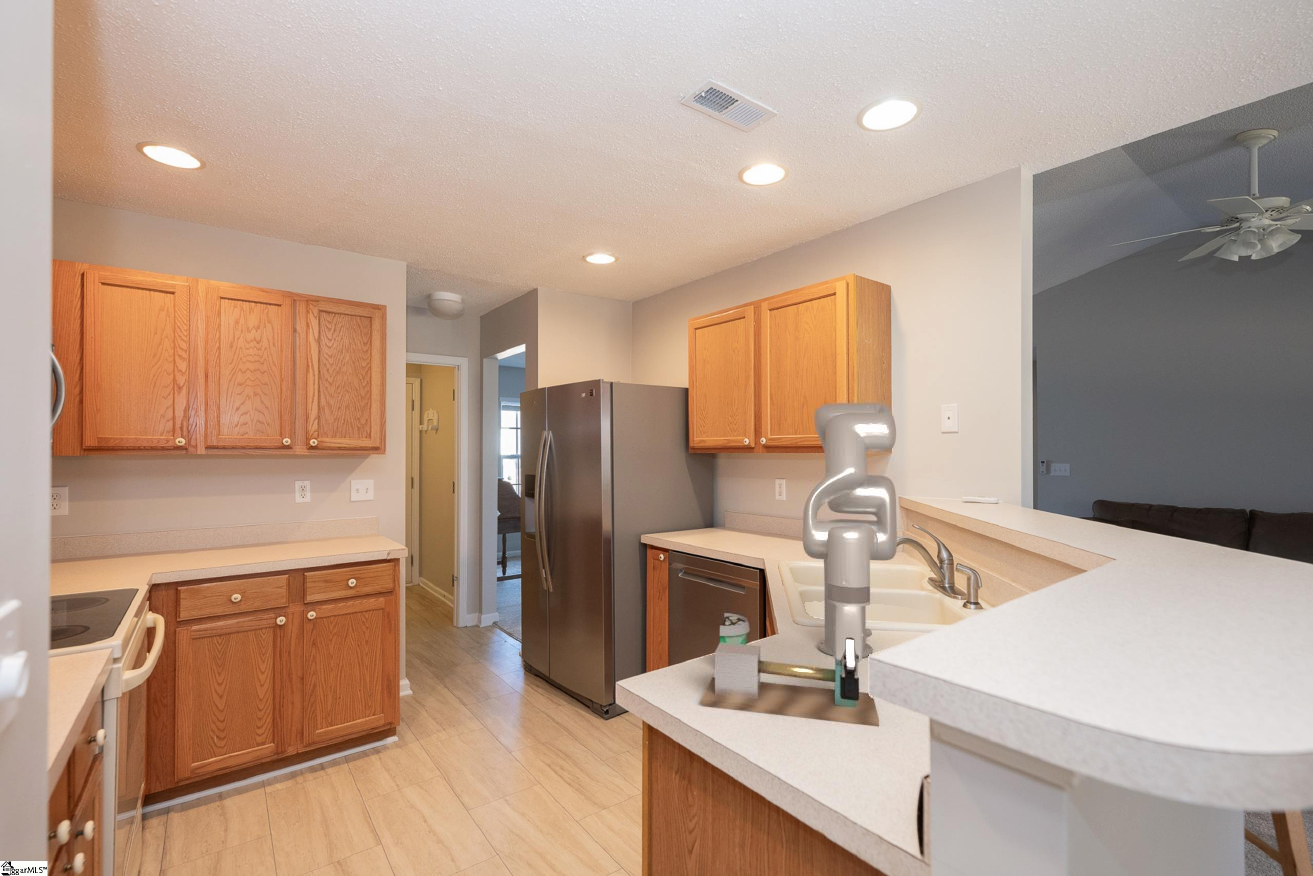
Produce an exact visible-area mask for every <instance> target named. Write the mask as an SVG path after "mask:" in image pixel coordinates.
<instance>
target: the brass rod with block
mask: <svg viewBox="0 0 1313 876" xmlns="http://www.w3.org/2000/svg"><path fill="white" fill-rule="evenodd" d="M834 661H835V662H834V663H835V664H834V669H832V668H826V667H825V668H824V667H818V666H817V667H816V666H807V665H799V664H792V663H782V662H776V661H775V662H774V661H768V660H767V661H766V660H761V659H760V660H758V673H760V674H768V675H774V676H781V677H783V676H784V677H791V678H798V679H806V680H815V681H822V682H831V683H834V689H835V694H834V699H835V705H840V706H847V707H854V708H856V701H855V700H846V699H841V697H840V675H841V676H842V661H841V659H837V660H835V659H834ZM845 665H847V663H845Z"/></svg>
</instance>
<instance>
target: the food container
mask: <svg viewBox="0 0 1313 876" xmlns="http://www.w3.org/2000/svg"><path fill="white" fill-rule="evenodd" d="M723 616H724V617H723V621H722V624H721V625H719V644H720V643H732V644H743V645H747V637H748V634H747V633H749V632H750V630H751V628H750V623H749V621H748V618H746V617H745V616H742V615H739V614H735V613H729V612H728V613H727V612H724V615H723Z"/></svg>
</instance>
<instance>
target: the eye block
mask: <svg viewBox="0 0 1313 876" xmlns="http://www.w3.org/2000/svg"><path fill="white" fill-rule="evenodd" d="M714 655H715V656H714V677H715V694H716V695H725V696H735V697H744V698H753V699H758V695H759V691H760V682H761V673H758V660H760V661H761V645H755V644H754V645H752V644H751V645H750V644H746V645H743V644H732V643H720V642H719V643H718V645H717V648H716V649H715V651H714Z"/></svg>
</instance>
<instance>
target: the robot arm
mask: <svg viewBox="0 0 1313 876" xmlns="http://www.w3.org/2000/svg"><path fill="white" fill-rule="evenodd" d="M814 425H815V429H816V433H817V436H818V439H819V441H820V444H821V446H822V448H823V451H824V455H825V465H824V466H825V476H824V478H822V480H821V481H820V482H819V483H817V484H816V486H815V487H814V488H813V489H812V490H811V491H810V493H809V495H808V497H807V499H806V501H805V504H804V508H803V516H802V547H803V550H804V552H805V554H806V555H807V556H808V557H810V558H812V559H814V560H815V559H816V560H823V569H824V570H823V573H824V577H823V578H824V582H823V583H824V586H823V587H824V639H822V640H820V641H818V643H817V647H818V650H820V651H821V652H822V653H823V654H827V655H830V656H833V659H834V661H835V660H841V661H842V676H841V675H840V697H841V699H846V700H855V701H858V700H859V692H860V679H859V678H860V677H859V675H858V673H859V670H858V667H859V666H858V663H860V662H861V661H862V660H863V658H867V657H869V656H868V655H869V654H871V653H872V654H873V650H874V649H873V647H872V645H870V644H868V643H867V640H866V639H867V638H868V637H871V636H872V634H873V632H872V629H870V628H868V627H867V626H866V624H867V623H866V619H867V618H866V612H867V611H866V607H867V606H869V605H870V604H871V566H870V565H871V564H870V563H871V561H889V560H890V561H891V560H893V559H894V558H895V556H896V553H897V548H898V533H897V532H898V528H897V526H898V525H897V494H896V489H895V485H894V483H893V481H892V479H891V478H889V477H888V476H885V475H877V474H875V475H874V474H873V475H872V474H870V475H869V474H868V461H867V460H868V458H867V457H868V456H867V452H888V451H891V450H892V449H893V448H894V447H895V445H896V438H897V429H896V427H897V426H896V422H895V418H894V415H893V412H892V410H891V407H890V406H889V405H888V404H887V403H884V402H841V403H839V402H837V403H827V404H824V405H821V406H819V407H818V408H816V410H815V412H814ZM826 503H827V506H828V509H829V510H830V511H831V512H834V513H837V514H848V515H872V516H874V517H875V518H876V520H871V519H869V520H868V519H848V518H847V519H846V518H836V519H830V520H828V521H823V520H821V521H818V520H817V517H818V512H819V510H820V509H821V507H823V505H825V504H826ZM872 654H871V655H872ZM845 663H847V665H845Z"/></svg>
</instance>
